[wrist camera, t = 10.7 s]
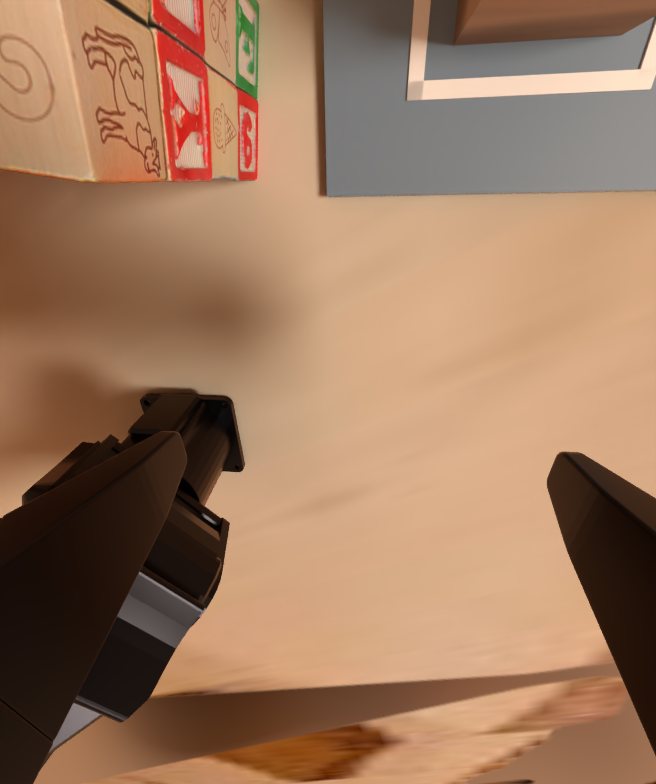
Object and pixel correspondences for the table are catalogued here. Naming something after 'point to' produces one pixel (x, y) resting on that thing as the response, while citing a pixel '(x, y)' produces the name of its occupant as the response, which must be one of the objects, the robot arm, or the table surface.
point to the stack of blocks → (129, 89)
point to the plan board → (481, 106)
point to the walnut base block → (546, 19)
